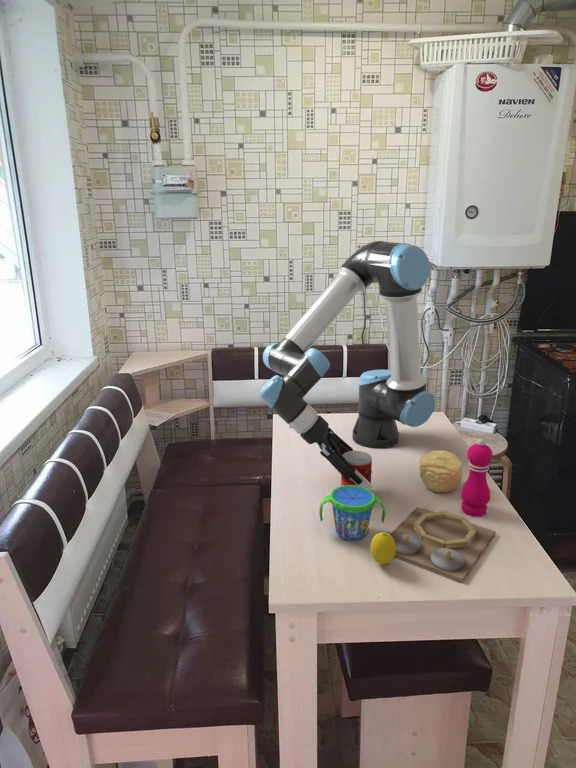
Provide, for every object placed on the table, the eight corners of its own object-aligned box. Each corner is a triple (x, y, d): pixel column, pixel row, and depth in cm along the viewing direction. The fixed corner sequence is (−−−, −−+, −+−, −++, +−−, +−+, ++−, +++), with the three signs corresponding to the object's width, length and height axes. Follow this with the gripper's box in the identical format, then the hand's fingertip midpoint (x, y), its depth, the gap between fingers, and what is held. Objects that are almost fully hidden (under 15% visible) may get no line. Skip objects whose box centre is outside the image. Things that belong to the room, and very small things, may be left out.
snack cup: (384, 523, 146) (386, 486, 143) (384, 548, 136) (386, 509, 133) (321, 518, 148) (321, 482, 145) (316, 542, 139) (317, 504, 135)
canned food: (369, 501, 156) (371, 464, 152) (339, 499, 157) (340, 461, 154) (371, 488, 163) (373, 451, 159) (342, 485, 164) (343, 449, 161)
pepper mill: (453, 509, 152) (460, 438, 146) (469, 500, 156) (477, 430, 150) (478, 521, 147) (486, 447, 140) (494, 511, 151) (502, 439, 145)
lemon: (399, 563, 131) (401, 532, 128) (386, 575, 127) (387, 543, 124) (378, 553, 134) (380, 522, 132) (364, 564, 130) (365, 533, 128)
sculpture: (414, 492, 161) (416, 456, 157) (424, 473, 171) (426, 439, 168) (457, 501, 156) (460, 464, 153) (464, 481, 167) (468, 446, 163)
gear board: (417, 509, 152) (418, 497, 151) (495, 535, 141) (496, 522, 140) (377, 550, 135) (377, 537, 134) (462, 583, 124) (463, 568, 123)
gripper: (301, 418, 166) (358, 472, 169) (295, 450, 146) (359, 510, 150) (321, 401, 164) (377, 456, 167) (316, 431, 144) (381, 492, 148)
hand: (368, 482), depth 159 cm, fingers closed on canned food, 8 cm apart
